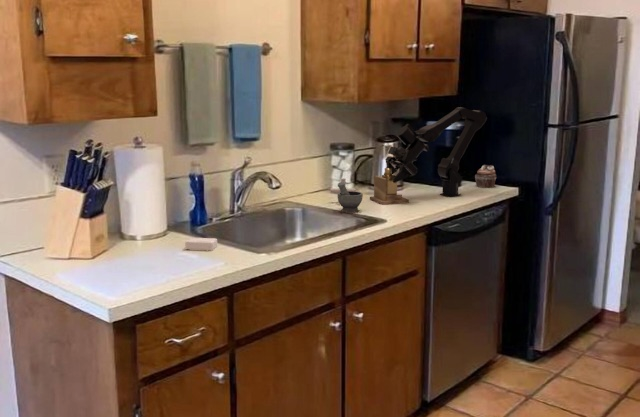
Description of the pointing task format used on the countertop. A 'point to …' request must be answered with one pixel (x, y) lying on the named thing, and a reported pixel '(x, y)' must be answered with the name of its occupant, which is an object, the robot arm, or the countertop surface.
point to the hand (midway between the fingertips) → (388, 180)
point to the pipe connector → (339, 189)
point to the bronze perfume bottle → (390, 182)
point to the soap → (201, 244)
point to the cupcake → (485, 177)
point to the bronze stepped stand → (385, 193)
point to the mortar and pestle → (349, 199)
